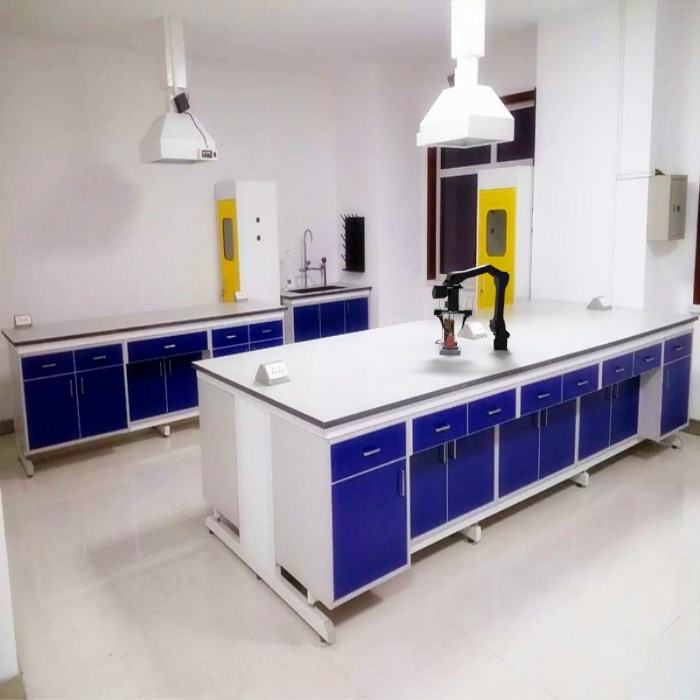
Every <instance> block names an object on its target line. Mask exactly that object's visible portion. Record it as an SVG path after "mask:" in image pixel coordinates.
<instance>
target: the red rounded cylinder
mask: <svg viewBox="0 0 700 700" xmlns="http://www.w3.org/2000/svg"><path fill="white" fill-rule="evenodd" d="M455 338H456V337H455V336H454V337H453V336H452V333H450V335H449V336H448V337H447V340H446V350H454V342H456V339H455Z"/></svg>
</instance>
